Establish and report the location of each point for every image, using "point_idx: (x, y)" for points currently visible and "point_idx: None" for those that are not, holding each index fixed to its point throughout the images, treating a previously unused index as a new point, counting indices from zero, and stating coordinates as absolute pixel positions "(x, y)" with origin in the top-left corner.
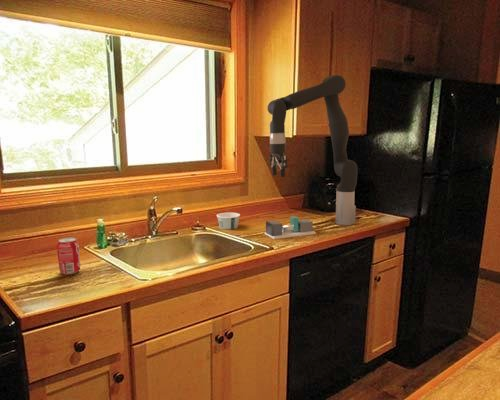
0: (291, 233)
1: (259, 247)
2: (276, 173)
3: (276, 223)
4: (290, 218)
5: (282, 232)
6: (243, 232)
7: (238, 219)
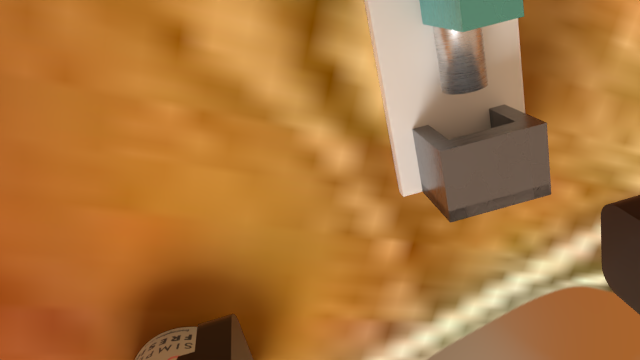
0: (487, 33)
1: None
2: (233, 340)
3: (533, 162)
4: (460, 30)
5: None
6: (333, 301)
7: None
